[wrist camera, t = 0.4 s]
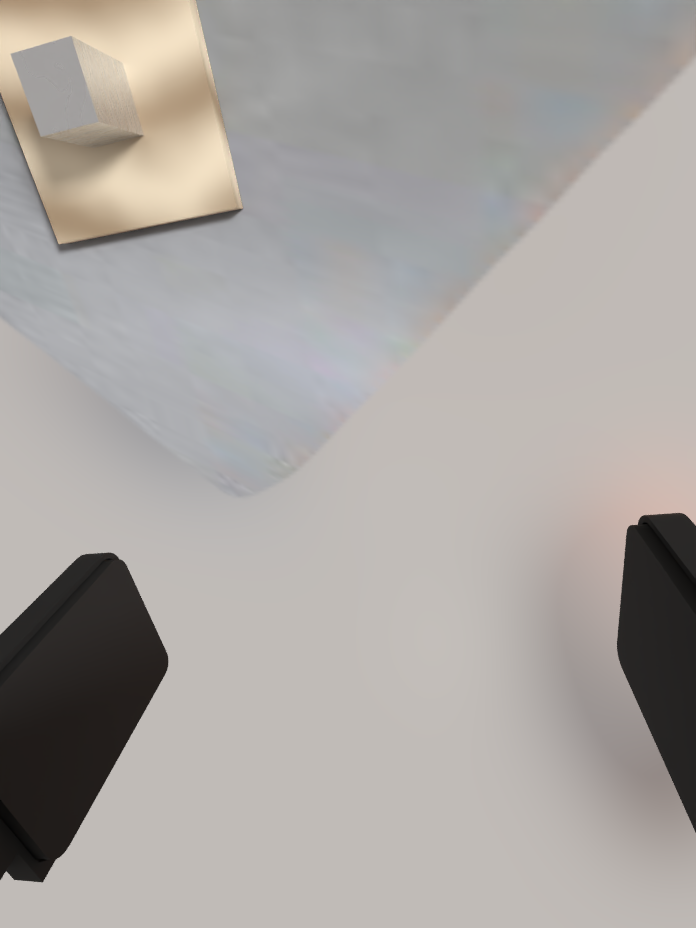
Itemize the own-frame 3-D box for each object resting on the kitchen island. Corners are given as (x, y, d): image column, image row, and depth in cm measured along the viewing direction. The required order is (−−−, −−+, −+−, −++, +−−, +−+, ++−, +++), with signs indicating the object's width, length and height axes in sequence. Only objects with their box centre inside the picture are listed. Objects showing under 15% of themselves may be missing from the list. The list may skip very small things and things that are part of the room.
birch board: (-22, 2, 30) (-38, -6, 29) (181, -63, 28) (171, -75, 27) (69, 243, 36) (58, 243, 35) (242, 208, 34) (237, 208, 33)
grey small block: (69, 77, 31) (10, 53, 26) (122, 63, 30) (71, 35, 25) (92, 148, 32) (40, 136, 28) (143, 135, 31) (98, 121, 27)
